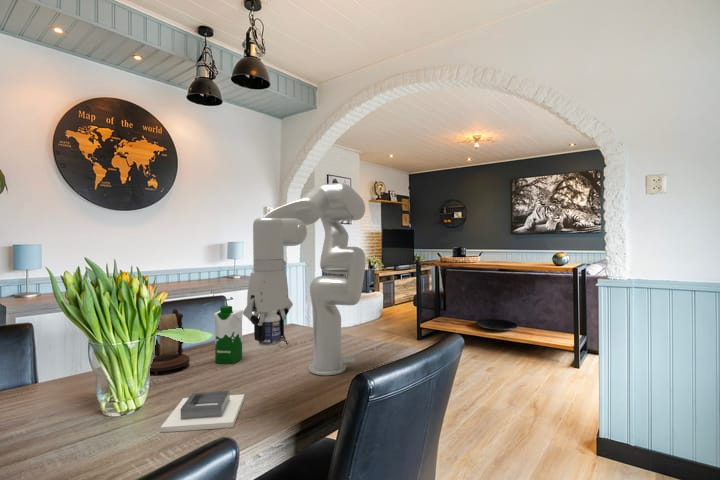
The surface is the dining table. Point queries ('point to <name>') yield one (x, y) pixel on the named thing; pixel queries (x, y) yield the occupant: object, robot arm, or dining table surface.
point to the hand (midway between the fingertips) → (269, 337)
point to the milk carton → (228, 335)
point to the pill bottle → (271, 330)
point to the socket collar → (205, 410)
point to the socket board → (225, 421)
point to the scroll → (169, 346)
